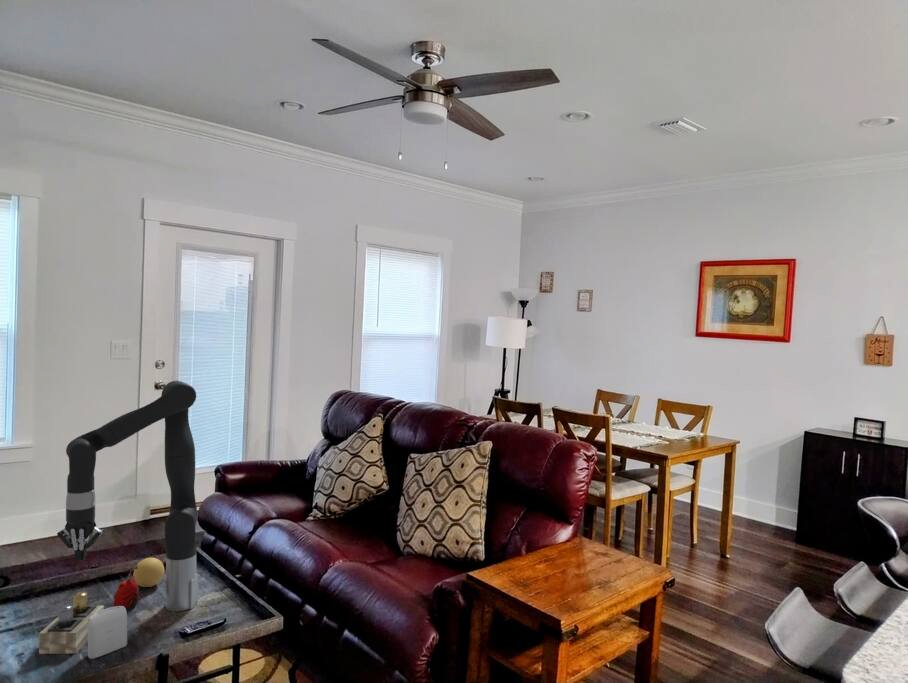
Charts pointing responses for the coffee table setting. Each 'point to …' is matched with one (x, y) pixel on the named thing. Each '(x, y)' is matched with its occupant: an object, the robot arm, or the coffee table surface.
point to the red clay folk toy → (127, 593)
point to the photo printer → (107, 631)
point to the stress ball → (148, 572)
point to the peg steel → (65, 616)
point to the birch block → (67, 634)
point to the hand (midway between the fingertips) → (80, 560)
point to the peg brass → (80, 602)
